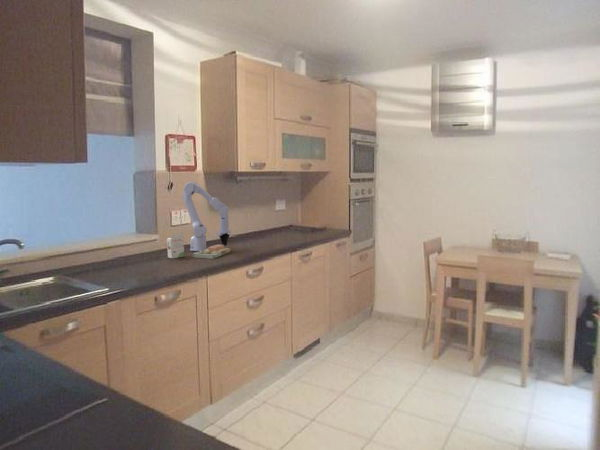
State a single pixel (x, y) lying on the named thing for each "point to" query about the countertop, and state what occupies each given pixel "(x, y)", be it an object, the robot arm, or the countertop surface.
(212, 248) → the tile front
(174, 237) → the ink box
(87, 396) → the countertop surface
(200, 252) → the tray
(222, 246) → the tile rear
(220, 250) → the beige square slab
